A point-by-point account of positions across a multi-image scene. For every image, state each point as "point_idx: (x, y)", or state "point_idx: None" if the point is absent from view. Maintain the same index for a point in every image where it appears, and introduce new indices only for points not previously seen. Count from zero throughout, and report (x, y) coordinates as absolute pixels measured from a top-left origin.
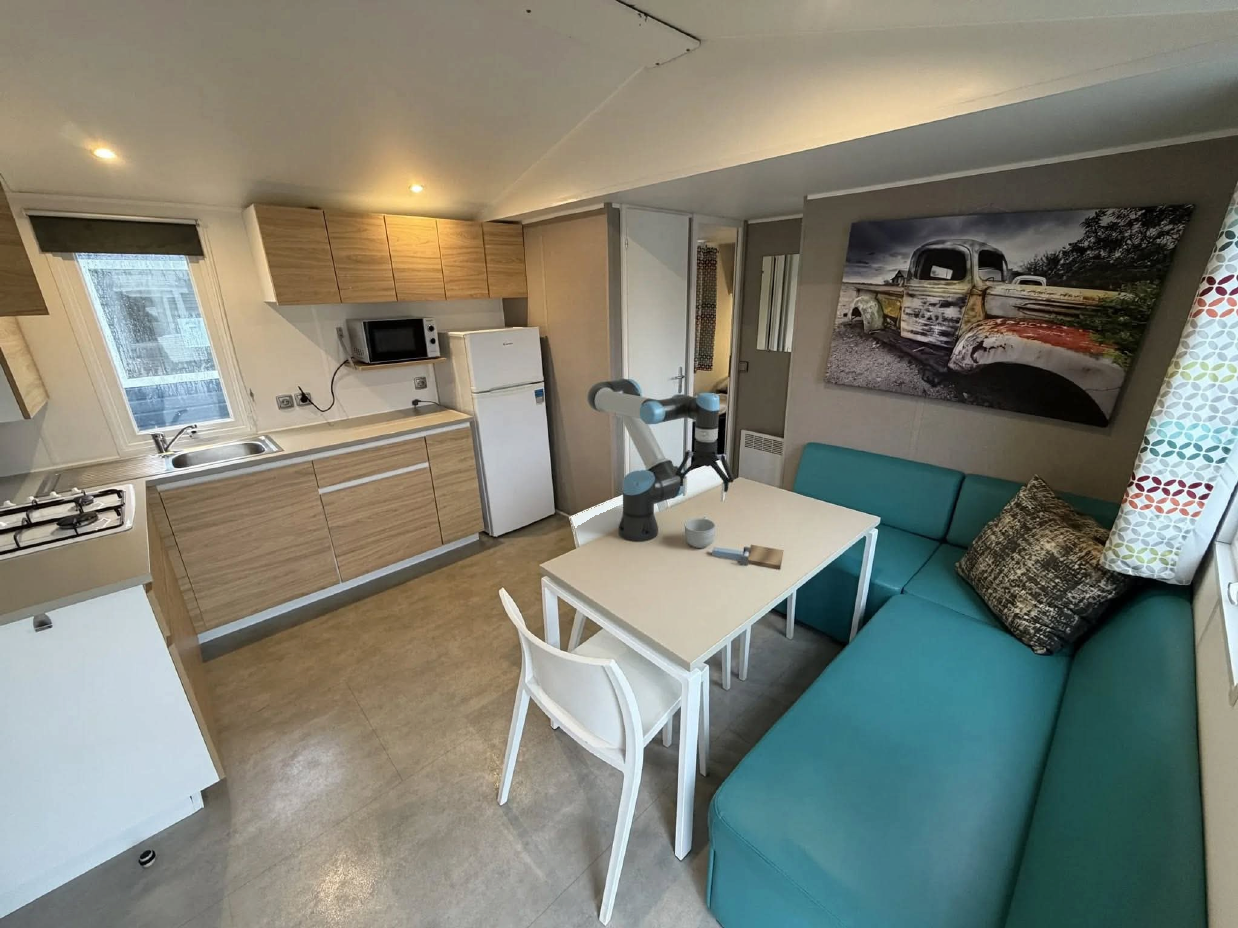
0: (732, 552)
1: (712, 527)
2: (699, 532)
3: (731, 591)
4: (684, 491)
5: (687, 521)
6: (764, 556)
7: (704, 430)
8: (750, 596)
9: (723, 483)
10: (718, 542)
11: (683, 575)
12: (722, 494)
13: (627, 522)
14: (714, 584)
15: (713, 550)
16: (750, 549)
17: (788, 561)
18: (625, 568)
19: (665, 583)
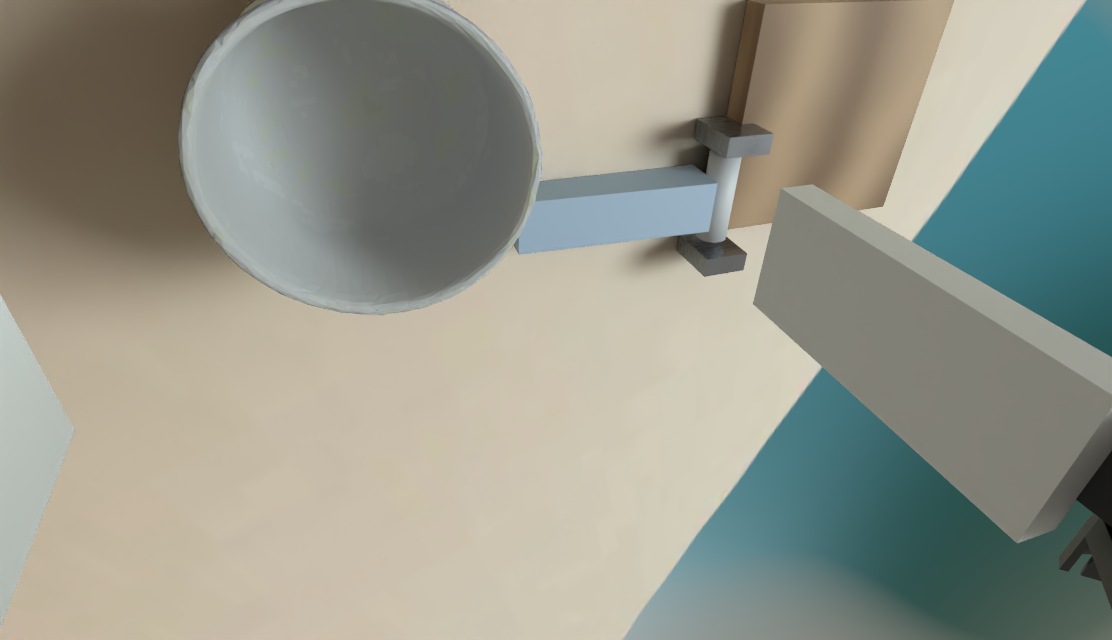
0: (651, 231)
1: (486, 60)
2: (426, 301)
3: (646, 457)
4: (34, 517)
5: (188, 131)
6: (823, 144)
7: None
8: (714, 444)
9: (1050, 521)
10: (504, 3)
11: (417, 479)
12: (846, 367)
13: None
14: (574, 457)
15: (526, 252)
16: (765, 153)
17: (929, 87)
18: (74, 598)
19: (364, 563)
